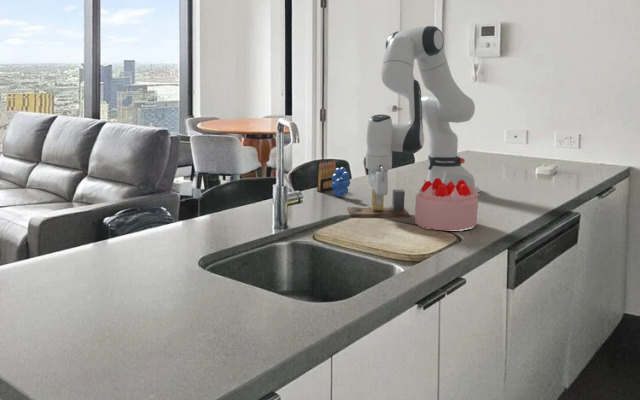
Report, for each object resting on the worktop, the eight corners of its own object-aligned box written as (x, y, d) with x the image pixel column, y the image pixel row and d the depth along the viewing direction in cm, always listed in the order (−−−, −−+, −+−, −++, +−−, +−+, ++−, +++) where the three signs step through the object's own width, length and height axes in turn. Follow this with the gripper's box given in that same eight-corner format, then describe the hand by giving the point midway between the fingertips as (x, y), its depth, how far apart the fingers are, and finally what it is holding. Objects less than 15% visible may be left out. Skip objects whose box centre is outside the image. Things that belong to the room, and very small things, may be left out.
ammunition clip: (320, 192, 259) (320, 162, 257) (317, 191, 260) (317, 162, 258) (337, 188, 267) (337, 159, 265) (333, 188, 268) (334, 159, 266)
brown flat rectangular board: (403, 209, 230) (403, 206, 230) (409, 216, 220) (409, 213, 219) (347, 209, 229) (347, 206, 229) (350, 217, 219) (350, 213, 218)
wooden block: (381, 208, 226) (382, 189, 225) (383, 210, 223) (383, 191, 221) (371, 208, 226) (372, 189, 224) (373, 210, 222) (373, 191, 221)
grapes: (358, 199, 247) (358, 168, 245) (343, 200, 244) (343, 169, 241) (341, 193, 257) (342, 163, 254) (327, 195, 254) (327, 164, 251)
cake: (413, 216, 220) (415, 175, 217) (473, 218, 219) (475, 177, 216) (416, 231, 201) (418, 186, 198) (481, 233, 200) (484, 188, 197)
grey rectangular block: (402, 209, 227) (402, 189, 225) (403, 211, 223) (404, 191, 222) (392, 209, 226) (392, 189, 225) (393, 211, 223) (394, 191, 221)
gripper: (393, 168, 211) (391, 209, 214) (383, 158, 231) (382, 196, 234) (373, 168, 211) (372, 209, 213) (365, 158, 230) (365, 196, 233)
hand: (377, 202), depth 224 cm, fingers closed on wooden block, 3 cm apart
